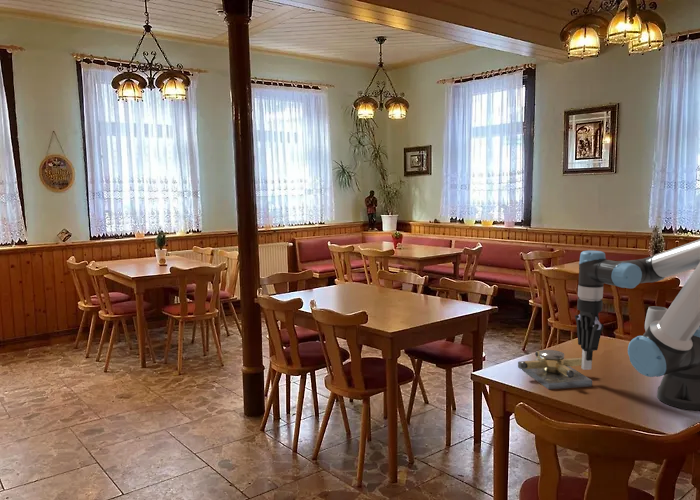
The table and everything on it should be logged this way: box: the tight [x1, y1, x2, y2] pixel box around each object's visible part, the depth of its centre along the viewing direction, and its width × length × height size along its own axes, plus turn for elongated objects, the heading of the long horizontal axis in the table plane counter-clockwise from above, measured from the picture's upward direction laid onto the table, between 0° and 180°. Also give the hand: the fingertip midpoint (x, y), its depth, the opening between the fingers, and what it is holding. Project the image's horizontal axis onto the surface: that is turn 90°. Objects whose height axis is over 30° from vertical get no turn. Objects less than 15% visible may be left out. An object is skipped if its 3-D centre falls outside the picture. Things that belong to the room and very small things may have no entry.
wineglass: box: [644, 306, 668, 332], centre depth 202 cm, size 8×8×21 cm
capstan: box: [520, 349, 582, 378], centre depth 194 cm, size 24×24×5 cm
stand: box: [517, 357, 593, 390], centre depth 194 cm, size 22×15×3 cm
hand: (586, 368), depth 188 cm, fingers closed
